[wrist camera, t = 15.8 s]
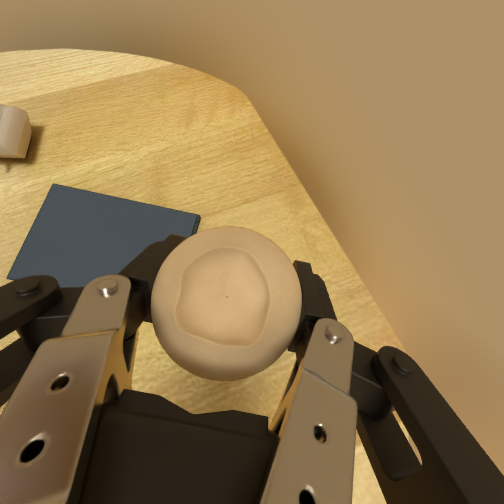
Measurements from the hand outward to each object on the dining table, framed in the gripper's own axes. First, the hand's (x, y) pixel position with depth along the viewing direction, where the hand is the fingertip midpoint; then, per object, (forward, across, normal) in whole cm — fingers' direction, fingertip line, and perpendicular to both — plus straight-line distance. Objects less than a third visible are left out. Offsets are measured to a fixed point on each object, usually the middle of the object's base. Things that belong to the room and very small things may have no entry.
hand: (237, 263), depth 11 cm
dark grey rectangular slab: (+13, +17, +10) cm, 24 cm away
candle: (+3, 0, +5) cm, 6 cm away
